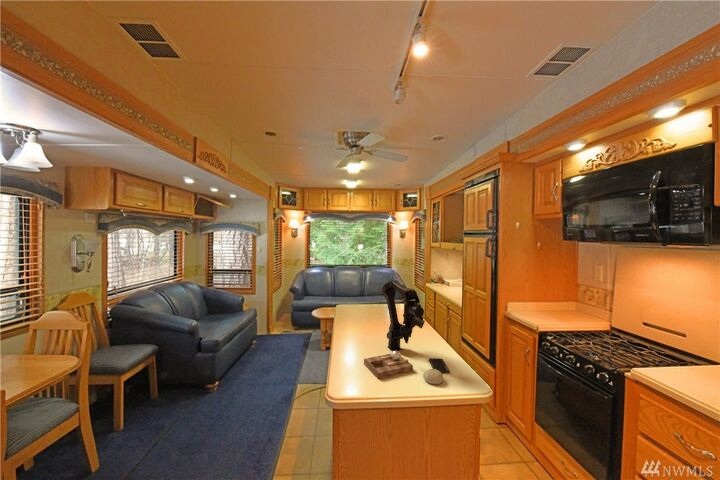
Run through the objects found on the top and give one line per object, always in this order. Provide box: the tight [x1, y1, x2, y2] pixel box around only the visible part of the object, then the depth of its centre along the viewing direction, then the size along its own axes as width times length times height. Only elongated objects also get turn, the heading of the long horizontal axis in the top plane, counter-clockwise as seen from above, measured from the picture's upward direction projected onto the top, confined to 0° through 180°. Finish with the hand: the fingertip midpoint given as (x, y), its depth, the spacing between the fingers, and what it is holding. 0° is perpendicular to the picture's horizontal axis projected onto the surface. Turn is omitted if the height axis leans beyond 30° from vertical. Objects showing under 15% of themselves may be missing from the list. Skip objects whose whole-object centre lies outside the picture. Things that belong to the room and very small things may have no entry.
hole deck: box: [363, 352, 414, 380], centre depth 141 cm, size 20×16×4 cm
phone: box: [428, 357, 451, 374], centre depth 144 cm, size 8×1×15 cm
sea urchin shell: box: [422, 368, 444, 385], centre depth 130 cm, size 9×8×8 cm
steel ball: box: [390, 350, 402, 361], centre depth 143 cm, size 5×5×5 cm
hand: (408, 340), depth 150 cm, fingers open, 9 cm apart
